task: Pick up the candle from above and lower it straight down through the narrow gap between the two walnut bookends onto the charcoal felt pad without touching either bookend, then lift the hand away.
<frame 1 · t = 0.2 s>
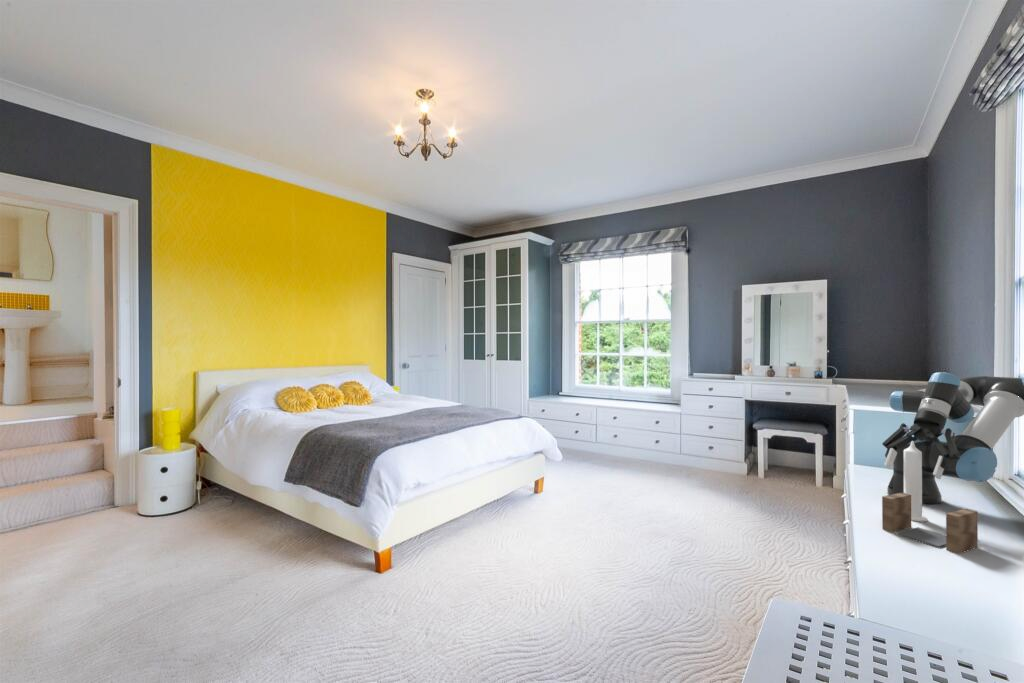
hand: (910, 471, 148), 16 cm above the table, tool tilted 35°, fingers open, 13 cm apart
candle: (912, 518, 150), on the table
bookend 2: (962, 548, 127), on the table
felt pad: (927, 537, 134), on the table
bookend 1: (896, 528, 142), on the table
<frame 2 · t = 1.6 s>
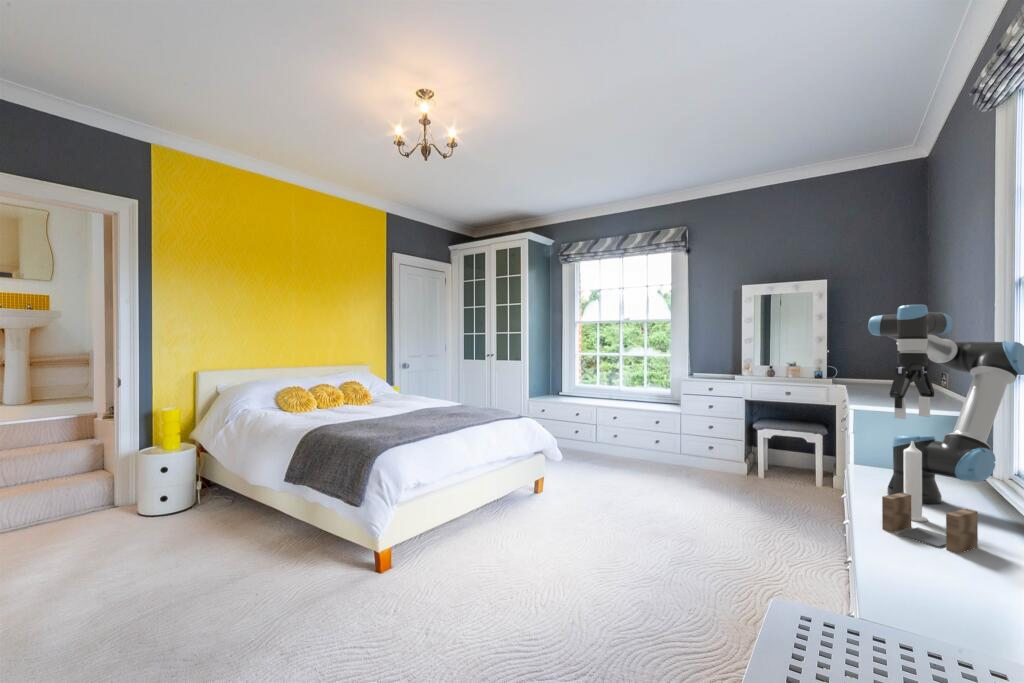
hand: (912, 417, 151), 33 cm above the table, tool pointing down, fingers open, 13 cm apart
nothing on the table moved.
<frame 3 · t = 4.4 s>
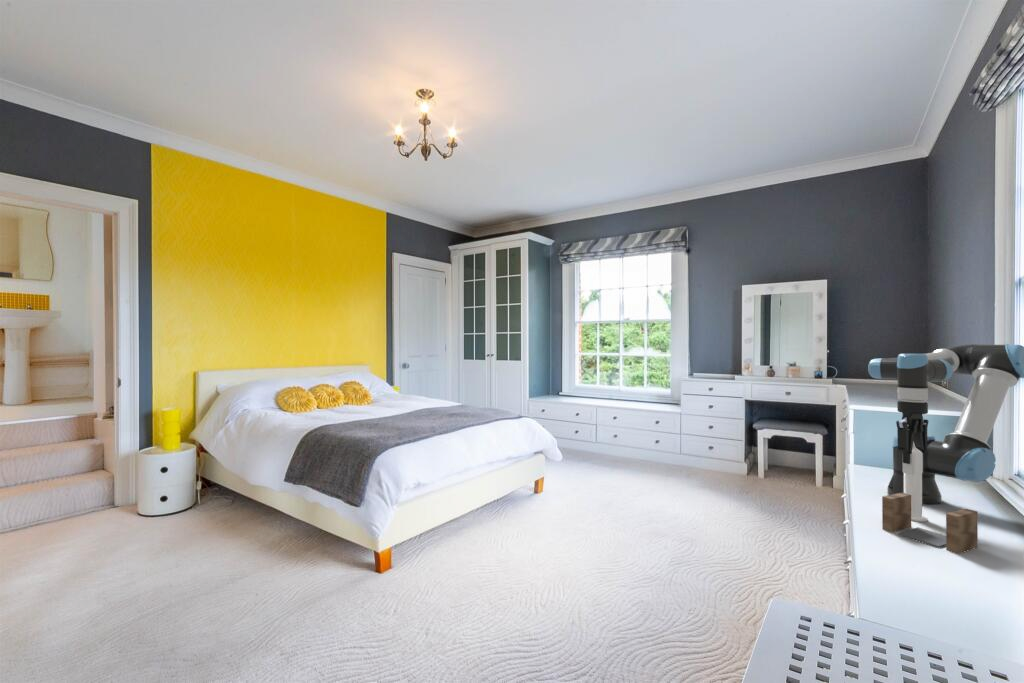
hand: (912, 472, 151), 15 cm above the table, tool pointing down, fingers closed on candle, 4 cm apart
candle: (912, 518, 150), on the table, touching gripper
everything else where it was.
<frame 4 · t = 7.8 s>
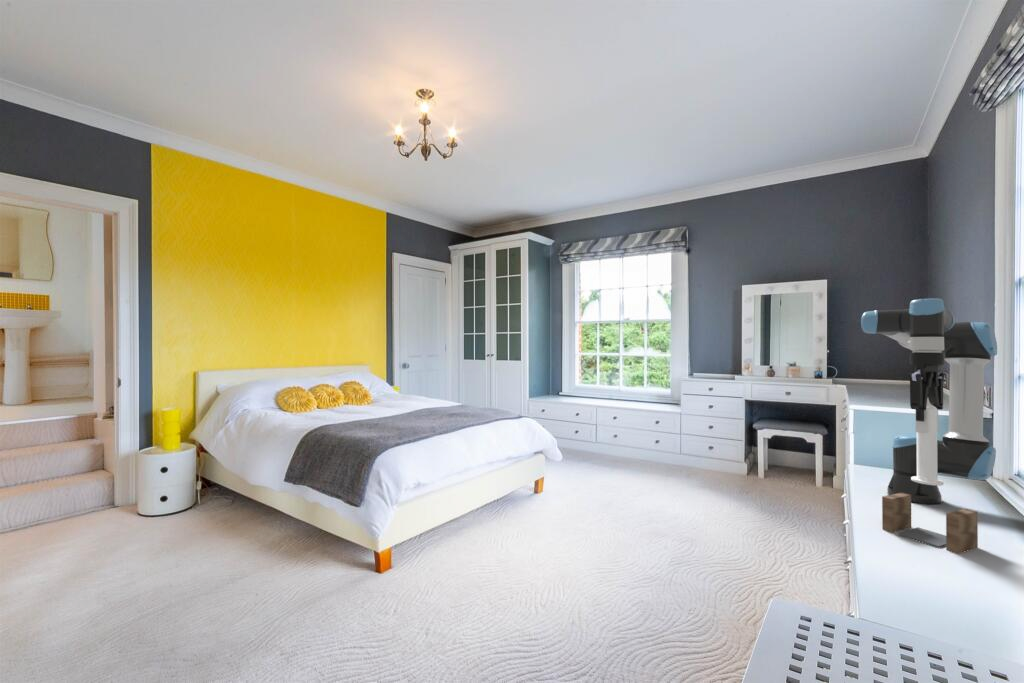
hand: (926, 431, 135), 31 cm above the table, tool pointing down, fingers closed on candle, 4 cm apart
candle: (927, 482, 135), point 16 cm above the table, touching gripper
everything else where it was.
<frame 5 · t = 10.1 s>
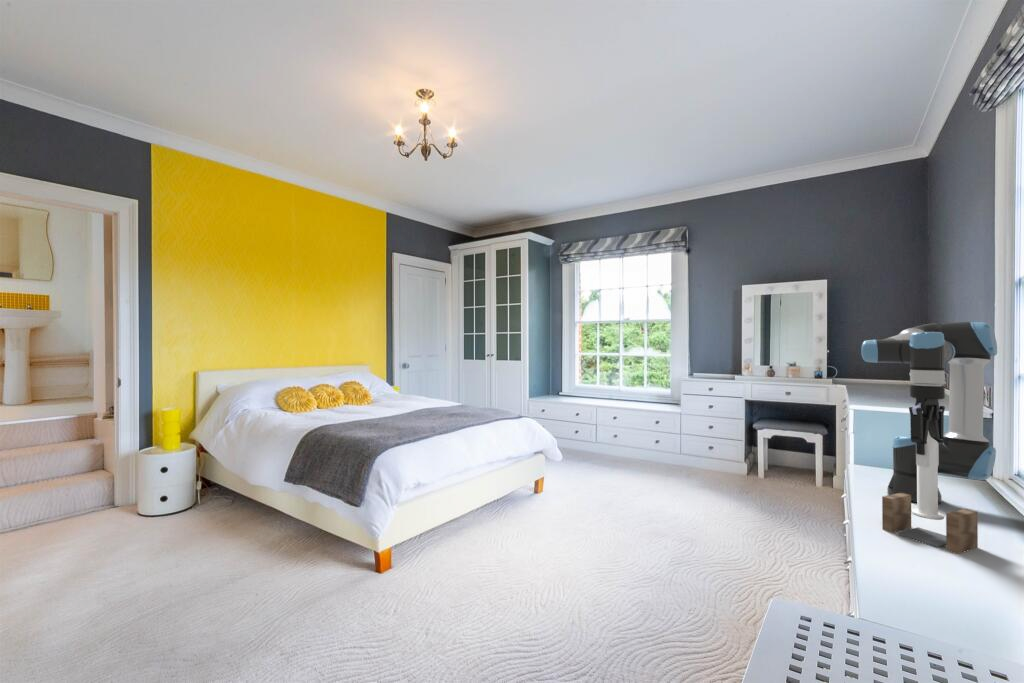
hand: (927, 465, 135), 21 cm above the table, tool pointing down, fingers closed on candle, 4 cm apart
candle: (927, 516, 135), point 6 cm above the table, touching gripper
everything else where it was.
when the fingers open (16 cm above the table, at t = 11.7 s): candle drops 1 cm, resting on felt pad.
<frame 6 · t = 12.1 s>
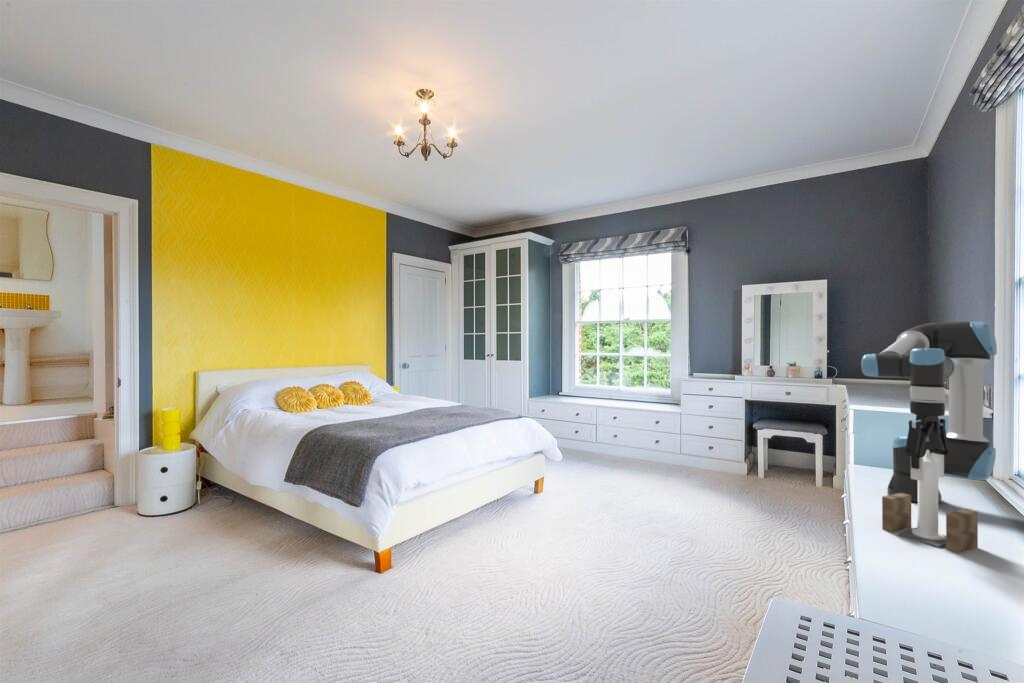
hand: (927, 477, 135), 17 cm above the table, tool pointing down, fingers open, 10 cm apart
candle: (927, 536, 135), resting on felt pad
everything else where it was.
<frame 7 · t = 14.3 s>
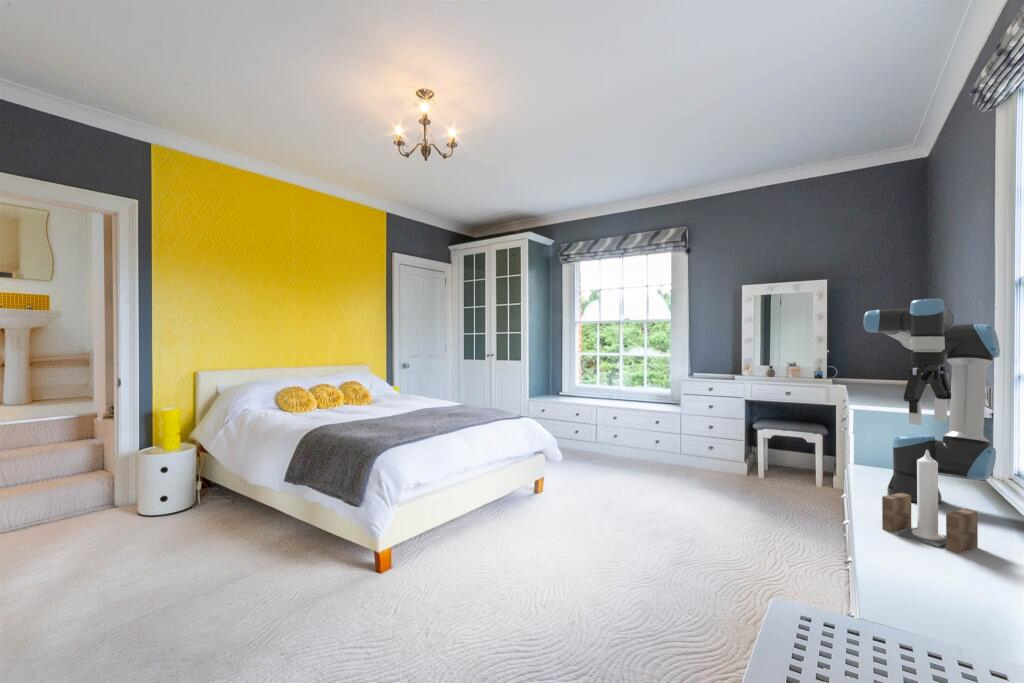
hand: (928, 422, 138), 33 cm above the table, tool pointing down, fingers open, 13 cm apart
nothing on the table moved.
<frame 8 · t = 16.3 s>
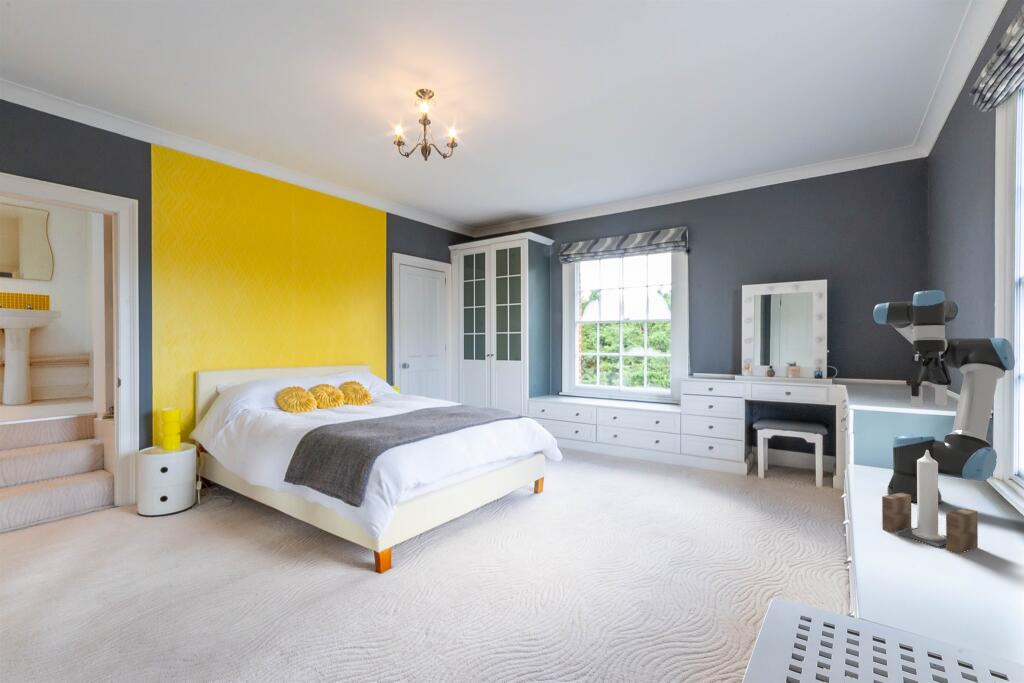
hand: (929, 406, 148), 37 cm above the table, tool pointing down, fingers open, 13 cm apart
nothing on the table moved.
at the end: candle 0.1 cm from the target spot, resting on felt pad; bookend 1 moved 0.1 cm from its start; bookend 2 moved 0.1 cm from its start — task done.
